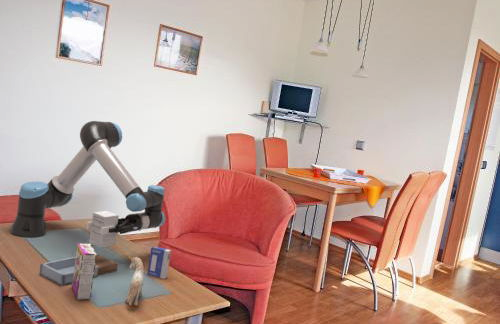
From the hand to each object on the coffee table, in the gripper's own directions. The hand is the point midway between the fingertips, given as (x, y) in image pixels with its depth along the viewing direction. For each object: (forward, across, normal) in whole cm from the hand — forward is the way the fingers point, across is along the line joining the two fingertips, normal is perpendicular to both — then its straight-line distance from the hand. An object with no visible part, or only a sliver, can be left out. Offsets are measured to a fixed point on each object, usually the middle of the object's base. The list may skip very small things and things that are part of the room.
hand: (94, 228), depth 179 cm
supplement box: (-5, 0, -7) cm, 9 cm away
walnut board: (-4, 0, -17) cm, 18 cm away
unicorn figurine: (+6, -27, -18) cm, 33 cm away
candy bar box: (+16, -15, -18) cm, 28 cm away
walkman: (-19, -19, -18) cm, 32 cm away
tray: (+9, 0, -17) cm, 20 cm away
